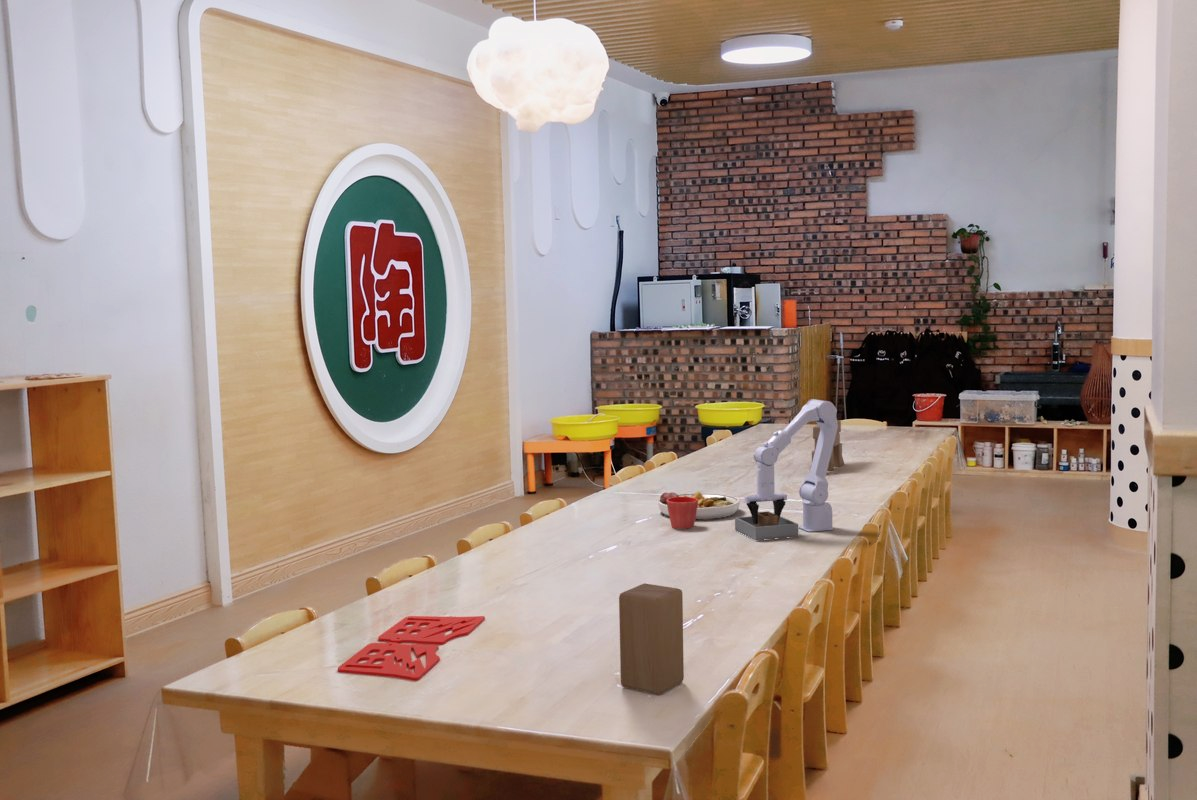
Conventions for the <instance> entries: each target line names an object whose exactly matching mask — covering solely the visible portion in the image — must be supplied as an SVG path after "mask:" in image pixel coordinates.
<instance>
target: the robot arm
mask: <svg viewBox="0 0 1197 800" xmlns="http://www.w3.org/2000/svg"><path fill="white" fill-rule="evenodd" d="M837 412H838V408H837V407H836V406H835V405H834V403H833V402H831V401H830V400H829V401H828V400H822V399H817V398H811V399H809V400H808V401H807V402H806V403H805V404H804V405H803V406H802V408H801V410H800V411H799V412H798V413H797V415H795V417H794V418H793V419H792V420H791V421H790V422H789V423H788V425H787V426H785V428H783V429H780V430H777V431H774V432H773V434H772V436H771V437H770V438H769V439H768V440H767V441H765V442H763V445H762V446H758V447H757V448H756V450H755V451H754V454H753V458H754V459H753V460H754V461H755V462H756V482H757V484H756V489H757V490H756V492H757V493H756V495H755V494H754V495H749V496H744V503H746V505H747V508H748V509H749V512H750V514H751V515H750V516H752V519H753V523H754V524H758V512H759V507H760V504H758V503H761V502H772V505H773V514H775V515H778V522H779V518H780V516H781V515H782V512H783V509H784V508H785V505H786V501H787V500H788V494H786V493H775V463H777V461H778V457H779V455H780V454H781V453H782V452H783V451H784V450H785V448H787V447H788V446H789V445H790V444H791V443H792V438H793V436H794V435H796V433H798V431H800V430H802V428H803V427H804V426H805V425H806V424H808V423H809V422H815V423H816V424H817V425H818V426H819V427H820V433H819V437H818V441H817V445H816V449H815V448H814V450H815V454H814V458H813V462H812V461H811V464H812V466H811V465H810V468H811V470H810V469H809V472H810V473H808V474H807V475H806V476H805V477H804V479H803V482H802V484H800V486H799V489H798V494H799V497H800V498H801V499H802V525H798V529H801V530H803V531H805V532H821V531H822V532H823V531H833V530H834V528H833V509H832V508H833V507H832V505H831V504H830V503H829V502H827V500H828V498H829V489H828V488H829V482H828V480H827V478H826V476H827V472H828V471H827V469H828V465H829V461H830V457H831V453H832V449H833V445H834V441H835V437H836V433H837V429H838V424H837V420H838V419H837Z"/></svg>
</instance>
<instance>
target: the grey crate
mask: <svg viewBox="0 0 1197 800" xmlns="http://www.w3.org/2000/svg"><path fill="white" fill-rule="evenodd" d="M798 526H799V523H797V522H795V521H793V520H790V519H788V518H786V517H783V516H781V515H780V518H779V522H778V525H775V526H763V527H755V524H754V523H753V519H752V515H750V516H740V517H739V516H738V517H737V516H736V517H734V531H735V530H736V532H737V531H738V532H737V533H739V532H740V533H739V534H741V533H742V534H741V535H743V534H744V535H743V536H745V535H746V536H745V537H747V536H748V537H747V538H749V537H750V538H749V539H751V538H752V539H754V540H763V541H765V540H764V539H774V540H776V539H775V538H786V539H788V538H787V537H797V538H799V527H798ZM752 539H751V540H752ZM754 540H753V541H754Z"/></svg>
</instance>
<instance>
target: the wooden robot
mask: <svg viewBox="0 0 1197 800" xmlns="http://www.w3.org/2000/svg"><path fill="white" fill-rule="evenodd" d="M841 422H842V421H841V420H840V419H839V420H838V419H837V424H838V429H837V433H836V437H835V441H834V445H833V449H832V453H831V457H830V461H829V465H828V469H827V472H831V471H834V468H840V467H842V466H844V465H845V461H844V458H843V443H841V440H840V439H841V438H840V437H841V431H842V430H841V429H842V423H841ZM819 433H820V427H819V426H818V424H817V425H815V426H813V427H812V439H813V440H814V450H811V465H810V468H809V473H810V470H811V466H812V462H813V458H814V454H815V449H816V445H817V441H818V437H819ZM809 473H808V474H809Z"/></svg>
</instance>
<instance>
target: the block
mask: <svg viewBox="0 0 1197 800" xmlns="http://www.w3.org/2000/svg"><path fill="white" fill-rule="evenodd" d="M683 603H684V602H683V591H682V589H680V588H676V587H672V586H664V585H657V584H649V583H641V584H639V585H637V586H635V587H632V588H630V589H627V590H625V591H623V592H621V593H619V596H618V607H619V608H618V610H619V611H618V613H619V615H618V616H619V617H618V619H619V653H620V654H619V658H620V660H619V661H620V664H619V665H620V666H619V667H620V685H621V686H622V687H623V688H625V689H630V690H635V691H639V692H644V693H647V694H648V693H649V694H653V695H658V696H659V695H663V694H665V693H666V692H668V691H669V690H672V689H673V688H675V687H676V686H678V685H680V684H681V683H683V681H684V679H685V675H684V673H685V672H684V671H685V670H684V663H685V662H684V611H683V608H684V606H683Z"/></svg>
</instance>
